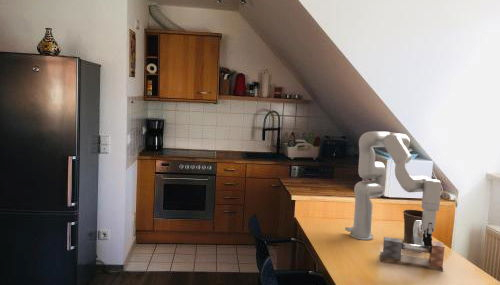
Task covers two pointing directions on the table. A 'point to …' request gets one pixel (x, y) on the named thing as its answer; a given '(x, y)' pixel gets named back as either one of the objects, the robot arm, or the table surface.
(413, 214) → the plant pot
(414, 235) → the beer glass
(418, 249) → the tube
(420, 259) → the tube rig
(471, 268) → the table surface
